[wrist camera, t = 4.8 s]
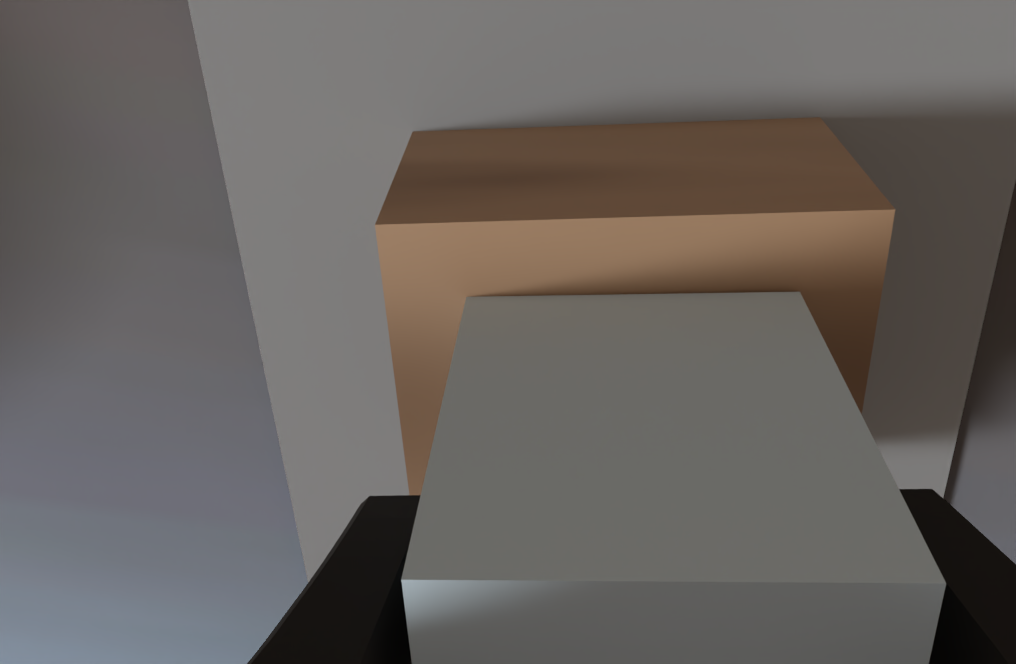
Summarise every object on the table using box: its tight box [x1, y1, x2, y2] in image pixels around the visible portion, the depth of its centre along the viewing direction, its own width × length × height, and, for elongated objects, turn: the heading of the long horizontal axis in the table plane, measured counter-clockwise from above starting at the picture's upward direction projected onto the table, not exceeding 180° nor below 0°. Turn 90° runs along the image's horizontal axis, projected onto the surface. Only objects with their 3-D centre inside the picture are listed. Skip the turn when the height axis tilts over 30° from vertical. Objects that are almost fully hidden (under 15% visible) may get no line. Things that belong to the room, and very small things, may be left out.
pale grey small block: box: [401, 292, 946, 664], centre depth 10 cm, size 4×4×5 cm
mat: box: [188, 0, 1016, 583], centre depth 16 cm, size 14×12×1 cm
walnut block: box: [375, 117, 895, 495], centre depth 14 cm, size 6×6×4 cm
